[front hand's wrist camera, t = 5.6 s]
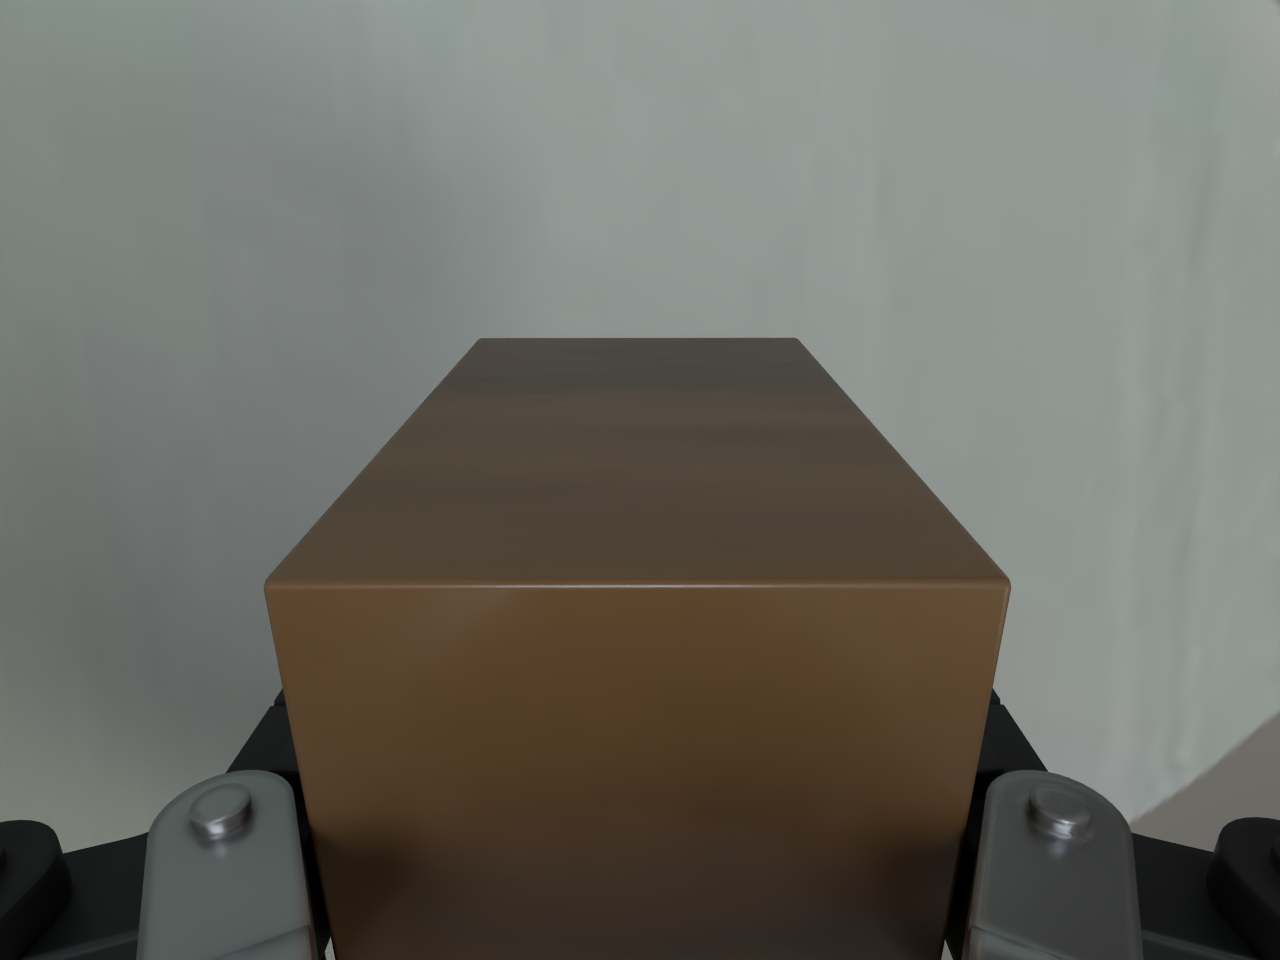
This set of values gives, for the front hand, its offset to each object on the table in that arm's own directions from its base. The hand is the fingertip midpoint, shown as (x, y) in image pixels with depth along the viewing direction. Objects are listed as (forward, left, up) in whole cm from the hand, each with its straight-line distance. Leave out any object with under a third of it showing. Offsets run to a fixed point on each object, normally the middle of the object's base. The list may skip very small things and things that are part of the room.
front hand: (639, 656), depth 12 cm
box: (+7, +2, -5) cm, 9 cm away
